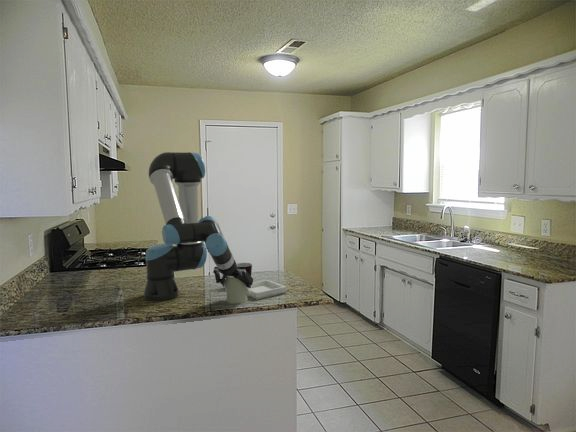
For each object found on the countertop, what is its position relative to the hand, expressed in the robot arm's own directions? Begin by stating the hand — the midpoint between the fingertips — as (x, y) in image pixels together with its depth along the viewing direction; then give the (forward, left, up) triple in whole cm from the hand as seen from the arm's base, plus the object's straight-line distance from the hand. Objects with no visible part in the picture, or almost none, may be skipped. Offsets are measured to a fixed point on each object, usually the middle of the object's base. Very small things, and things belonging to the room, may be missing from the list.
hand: (239, 289), depth 181 cm
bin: (+13, +1, -4) cm, 13 cm away
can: (-2, -2, -4) cm, 5 cm away
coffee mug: (+12, +19, -4) cm, 22 cm away
